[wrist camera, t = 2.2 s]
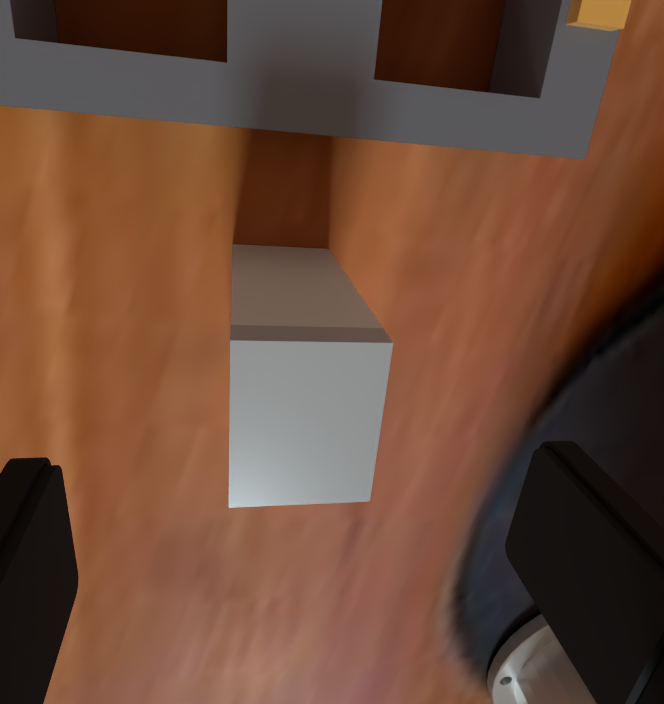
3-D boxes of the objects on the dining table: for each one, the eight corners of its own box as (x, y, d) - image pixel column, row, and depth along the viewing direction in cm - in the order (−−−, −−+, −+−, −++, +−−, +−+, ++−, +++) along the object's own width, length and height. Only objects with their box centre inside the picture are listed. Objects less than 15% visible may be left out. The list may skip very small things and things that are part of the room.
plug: (328, 248, 22) (393, 342, 13) (319, 356, 24) (369, 501, 15) (232, 244, 21) (230, 340, 12) (231, 355, 23) (229, 507, 14)
